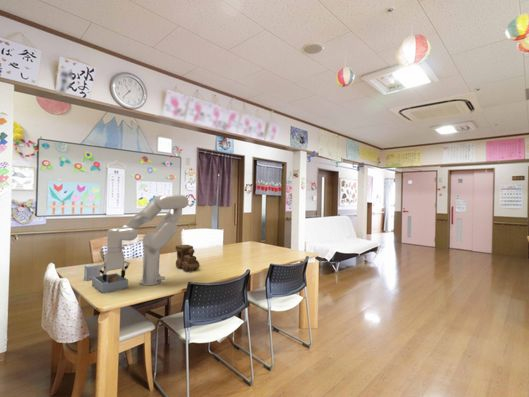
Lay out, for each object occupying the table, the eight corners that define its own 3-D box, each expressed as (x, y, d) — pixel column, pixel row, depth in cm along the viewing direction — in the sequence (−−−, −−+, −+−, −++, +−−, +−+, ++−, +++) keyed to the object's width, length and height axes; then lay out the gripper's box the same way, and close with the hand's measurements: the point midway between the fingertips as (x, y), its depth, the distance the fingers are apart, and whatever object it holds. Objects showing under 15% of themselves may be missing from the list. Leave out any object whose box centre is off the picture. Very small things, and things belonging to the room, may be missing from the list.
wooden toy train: (173, 267, 212) (174, 245, 212) (186, 264, 220) (187, 244, 220) (187, 273, 198) (188, 249, 198) (200, 270, 206) (201, 248, 206)
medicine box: (97, 276, 181) (98, 263, 181) (100, 278, 178) (100, 264, 178) (83, 279, 175) (84, 265, 174) (86, 280, 172) (86, 266, 172)
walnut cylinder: (119, 286, 163) (119, 274, 163) (115, 289, 158) (115, 277, 158) (110, 286, 162) (110, 274, 162) (105, 289, 157) (106, 276, 157)
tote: (92, 285, 164) (92, 277, 164) (116, 280, 174) (116, 272, 174) (102, 293, 152) (102, 284, 152) (127, 288, 162) (128, 279, 162)
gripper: (127, 246, 169) (126, 274, 169) (95, 250, 156) (95, 280, 156) (132, 248, 164) (132, 277, 164) (100, 253, 151) (99, 284, 151)
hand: (114, 279), depth 160 cm, fingers open, 9 cm apart
